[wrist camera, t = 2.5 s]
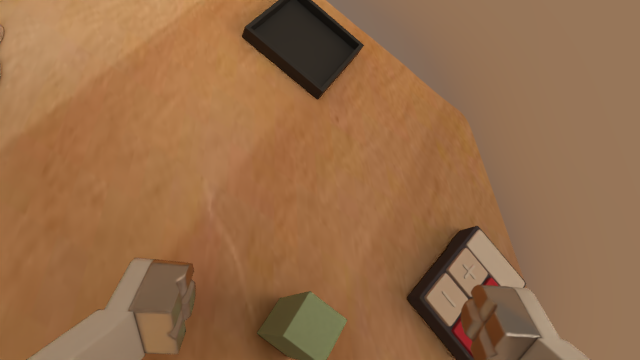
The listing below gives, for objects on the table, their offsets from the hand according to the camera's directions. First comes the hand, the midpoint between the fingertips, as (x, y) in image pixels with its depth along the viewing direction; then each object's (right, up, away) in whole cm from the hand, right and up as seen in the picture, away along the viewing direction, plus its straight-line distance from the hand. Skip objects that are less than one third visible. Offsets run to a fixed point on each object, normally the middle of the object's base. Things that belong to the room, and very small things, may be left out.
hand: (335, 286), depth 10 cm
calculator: (+19, -13, +41) cm, 47 cm away
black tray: (-3, +24, +46) cm, 52 cm away
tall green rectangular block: (-4, -14, +30) cm, 33 cm away
